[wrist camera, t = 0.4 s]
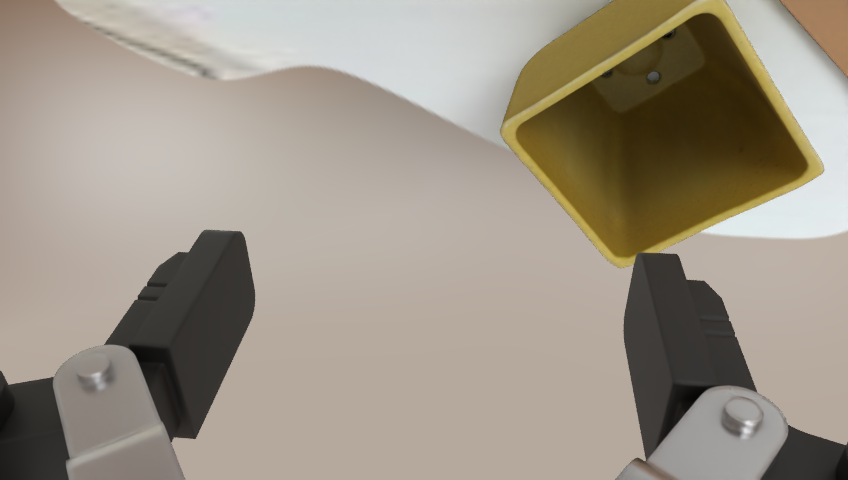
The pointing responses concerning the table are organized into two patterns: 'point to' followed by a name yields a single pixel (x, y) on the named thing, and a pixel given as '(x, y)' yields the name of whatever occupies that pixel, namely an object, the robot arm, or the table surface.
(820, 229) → the table surface
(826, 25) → the cork mat
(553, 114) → the flower pot
